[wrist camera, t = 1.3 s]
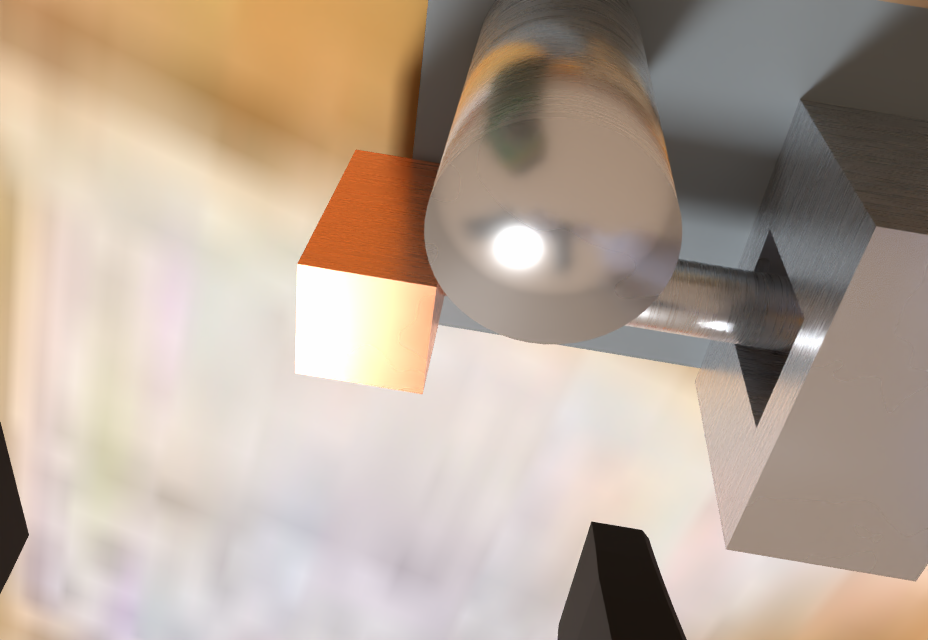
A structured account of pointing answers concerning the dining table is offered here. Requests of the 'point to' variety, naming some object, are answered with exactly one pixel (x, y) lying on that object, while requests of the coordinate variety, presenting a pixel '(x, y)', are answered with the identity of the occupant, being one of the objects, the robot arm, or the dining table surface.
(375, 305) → the orange grey long bar
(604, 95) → the peg
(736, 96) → the board
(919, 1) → the socket
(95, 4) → the dining table surface
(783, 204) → the block
